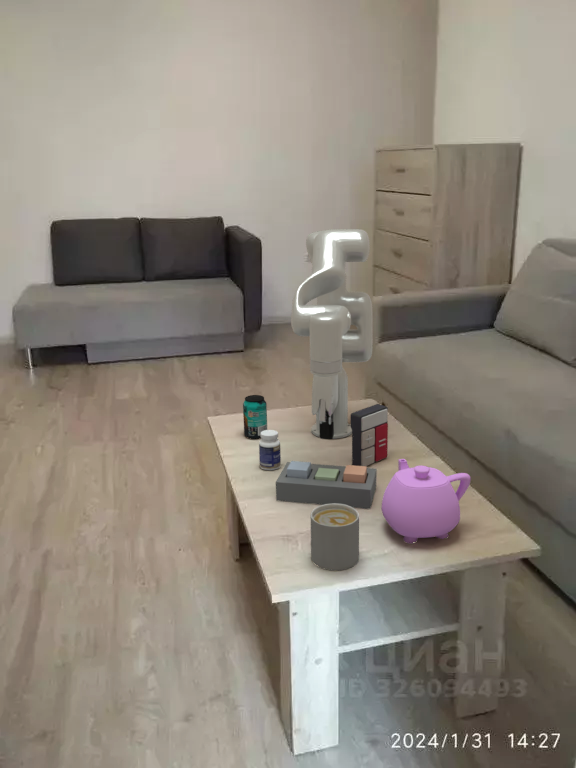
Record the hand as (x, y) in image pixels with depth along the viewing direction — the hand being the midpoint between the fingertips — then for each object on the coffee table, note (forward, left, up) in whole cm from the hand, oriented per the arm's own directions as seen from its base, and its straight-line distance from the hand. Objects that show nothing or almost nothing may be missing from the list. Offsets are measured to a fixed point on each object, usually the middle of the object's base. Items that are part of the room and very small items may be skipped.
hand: (326, 437), depth 172 cm
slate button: (0, -7, -13) cm, 15 cm away
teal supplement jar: (-34, -28, -15) cm, 46 cm away
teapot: (+11, +24, -15) cm, 31 cm away
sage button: (0, 0, -14) cm, 14 cm away
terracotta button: (0, +7, -13) cm, 15 cm away
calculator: (-21, +8, -15) cm, 27 cm away
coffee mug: (+27, +6, -15) cm, 32 cm away
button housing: (0, 0, -15) cm, 15 cm away
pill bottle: (-13, -18, -15) cm, 27 cm away
